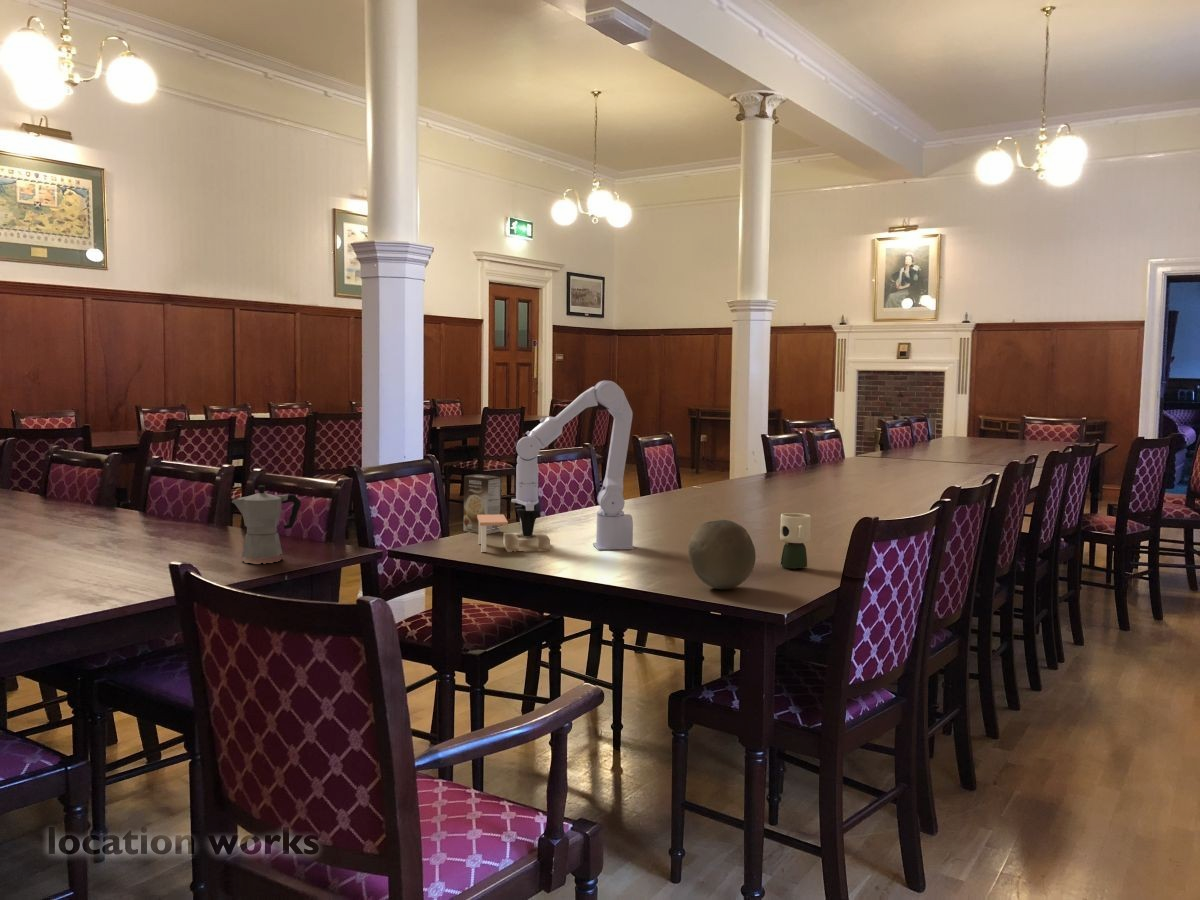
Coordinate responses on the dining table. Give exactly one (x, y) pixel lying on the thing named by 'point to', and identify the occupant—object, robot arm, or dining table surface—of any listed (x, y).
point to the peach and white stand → (488, 521)
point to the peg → (522, 532)
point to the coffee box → (481, 500)
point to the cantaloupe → (722, 554)
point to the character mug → (794, 539)
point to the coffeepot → (264, 522)
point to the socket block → (526, 542)
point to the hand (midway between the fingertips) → (526, 534)
